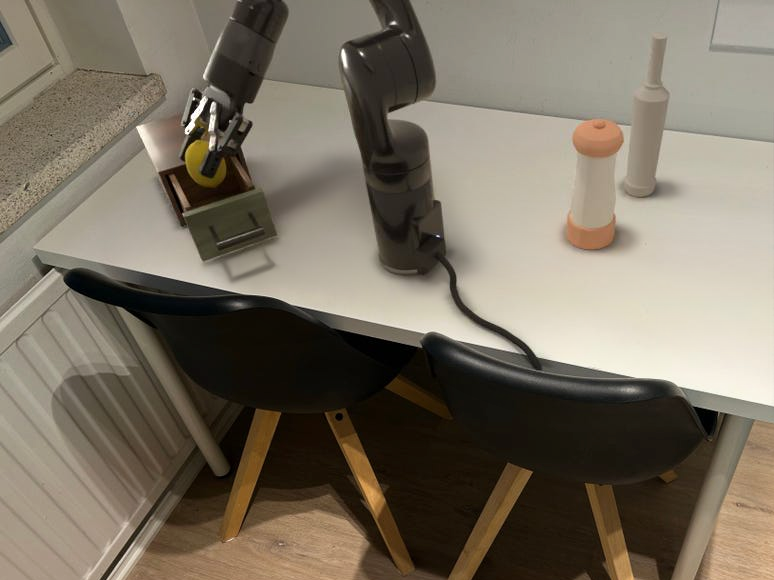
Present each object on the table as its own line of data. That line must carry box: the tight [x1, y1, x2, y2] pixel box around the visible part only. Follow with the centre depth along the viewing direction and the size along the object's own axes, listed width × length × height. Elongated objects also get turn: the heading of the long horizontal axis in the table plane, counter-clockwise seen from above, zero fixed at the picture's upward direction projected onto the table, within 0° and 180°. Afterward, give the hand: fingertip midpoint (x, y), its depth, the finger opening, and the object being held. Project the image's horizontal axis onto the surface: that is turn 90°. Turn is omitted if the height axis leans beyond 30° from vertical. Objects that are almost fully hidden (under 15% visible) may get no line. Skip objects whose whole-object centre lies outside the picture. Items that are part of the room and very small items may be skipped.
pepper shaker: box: [566, 118, 625, 251], centre depth 104 cm, size 7×7×19 cm
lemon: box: [185, 140, 226, 188], centre depth 108 cm, size 6×6×8 cm
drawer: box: [168, 156, 278, 263], centre depth 111 cm, size 21×12×8 cm, turn 30°
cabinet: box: [136, 112, 253, 227], centre depth 120 cm, size 17×13×10 cm
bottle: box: [623, 32, 671, 198], centre depth 109 cm, size 5×5×25 cm
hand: (195, 168), depth 107 cm, fingers closed on lemon, 5 cm apart
